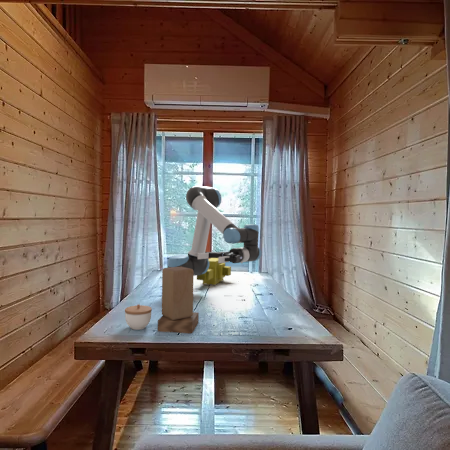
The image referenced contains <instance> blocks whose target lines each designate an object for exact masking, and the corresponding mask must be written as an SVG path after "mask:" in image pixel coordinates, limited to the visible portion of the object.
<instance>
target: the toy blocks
mask: <svg viewBox="0 0 450 450" xmlns="http://www.w3.org/2000/svg"><path fill="white" fill-rule="evenodd" d="M208 259H209V269H208V270H207V272H206V273H204V274H201V275H196V280H197V281H202V285H210V284H212V286H213V285H214V286H215V285H217V284H219V283H221V282H223V281H224V278H226V277H229V276H231V275H232V266H226V263H218V258H208Z"/></svg>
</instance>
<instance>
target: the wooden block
mask: <svg viewBox="0 0 450 450" xmlns="http://www.w3.org/2000/svg"><path fill="white" fill-rule="evenodd" d="M161 270H162V271H161V272H162V273H161V315H162V316H165V317H167V318H169V319H171V320H177V319H183V318H188V317H192V316H193V312H194V276H193V273H194V271H193V269H190V268H185V267H170V268H168V267H163V268H162V269H161Z"/></svg>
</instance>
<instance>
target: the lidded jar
mask: <svg viewBox="0 0 450 450" xmlns="http://www.w3.org/2000/svg"><path fill="white" fill-rule="evenodd" d="M152 310H153V309H152V306H149V305H143V304H140V303H137V305H131V306H127V307H126V308H124V317H125V322H126V324H127V325H128V326H129V328H130V329H131V330H133V331H134V330H138V331H139V330H143V329H146V327H147V326H148V325H149V324H150V322H151V318H152Z"/></svg>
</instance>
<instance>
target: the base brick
mask: <svg viewBox="0 0 450 450" xmlns="http://www.w3.org/2000/svg"><path fill="white" fill-rule="evenodd" d="M199 314H200V313H199V312H196V311H193V316H192V317H188V318H183V319H177V320H171V319H169V318H167V317H165V316H163V315H162V316H160V318H159V319H157V332H163V333H180V334H193V333H194V331H195V330H196V328H197V326H198V324H199Z"/></svg>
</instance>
